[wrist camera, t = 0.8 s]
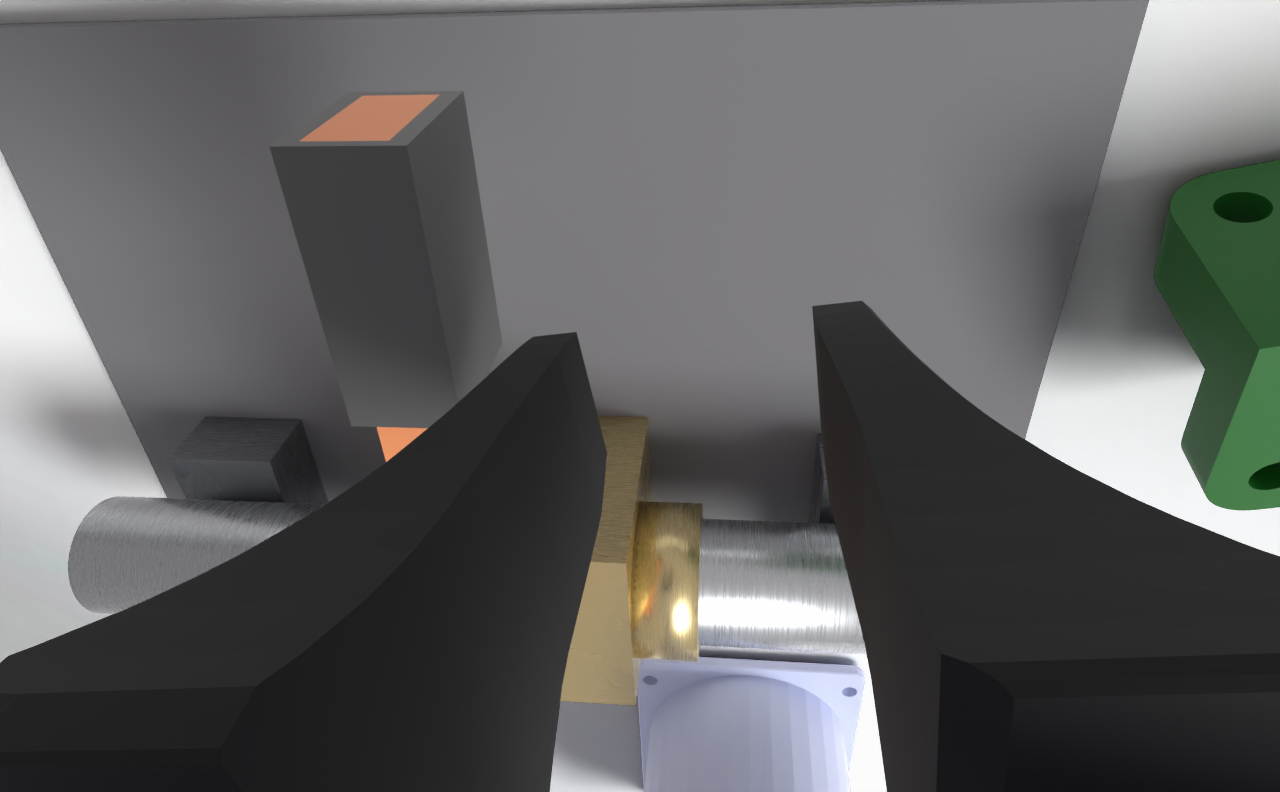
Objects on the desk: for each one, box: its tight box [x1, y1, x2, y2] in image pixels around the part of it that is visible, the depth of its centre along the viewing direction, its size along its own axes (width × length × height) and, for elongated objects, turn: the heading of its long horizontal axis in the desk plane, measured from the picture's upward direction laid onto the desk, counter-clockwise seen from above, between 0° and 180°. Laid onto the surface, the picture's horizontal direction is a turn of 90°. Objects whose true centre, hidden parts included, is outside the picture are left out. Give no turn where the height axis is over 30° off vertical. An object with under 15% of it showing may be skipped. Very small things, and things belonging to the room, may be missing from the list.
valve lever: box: [269, 91, 502, 462], centre depth 15 cm, size 14×2×3 cm, turn 2°
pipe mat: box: [0, 0, 1149, 523], centre depth 23 cm, size 18×26×1 cm
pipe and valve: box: [68, 416, 867, 706], centre depth 23 cm, size 5×24×6 cm, turn 92°
